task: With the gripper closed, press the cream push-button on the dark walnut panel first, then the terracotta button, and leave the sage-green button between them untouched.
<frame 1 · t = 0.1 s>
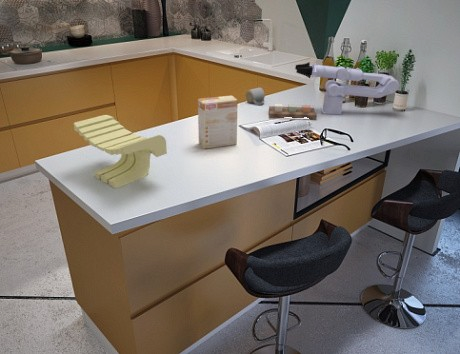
hand: (296, 68, 215), 22 cm above the countertop, tool horizontal, fingers open, 7 cm apart
cream button: (278, 108, 217), point 3 cm above the countertop, slide at 0.0 cm
terracotta button: (306, 109, 216), point 3 cm above the countertop, slide at 0.0 cm
coffeecake box: (217, 144, 182), on the countertop
button panel: (291, 115, 218), on the countertop
ceramic mug: (256, 103, 237), on the countertop
slatted lounge chair: (123, 175, 155), on the countertop
sage button: (292, 108, 217), point 3 cm above the countertop, slide at 0.0 cm
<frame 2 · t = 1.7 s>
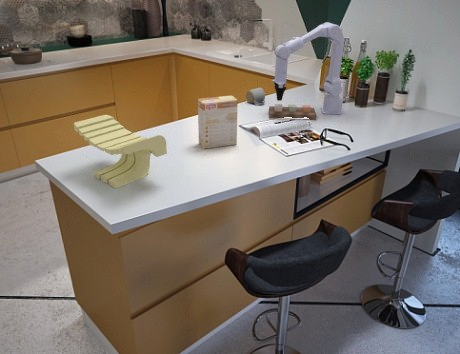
hand: (279, 98, 215), 8 cm above the countertop, tool pointing down, fingers open, 6 cm apart
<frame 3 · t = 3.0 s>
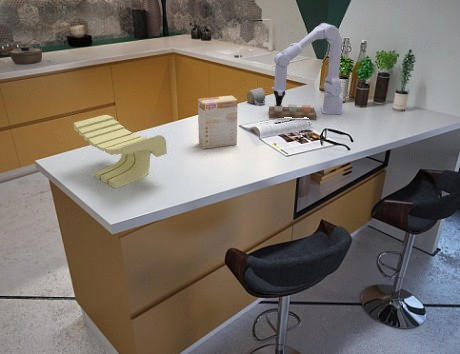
hand: (278, 105, 216), 5 cm above the countertop, tool pointing down, fingers closed, pressing on cream button
cream button: (278, 108, 217), point 3 cm above the countertop, slide at 0.3 cm, touching gripper
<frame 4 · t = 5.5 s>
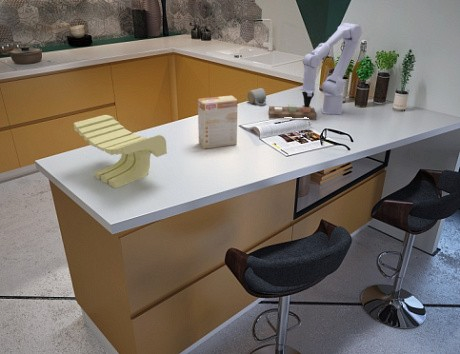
hand: (306, 106, 216), 5 cm above the countertop, tool pointing down, fingers closed, pressing on terracotta button
cream button: (278, 111, 218), point 2 cm above the countertop, slide at 1.5 cm
terracotta button: (306, 109, 216), point 3 cm above the countertop, slide at 0.2 cm, touching gripper
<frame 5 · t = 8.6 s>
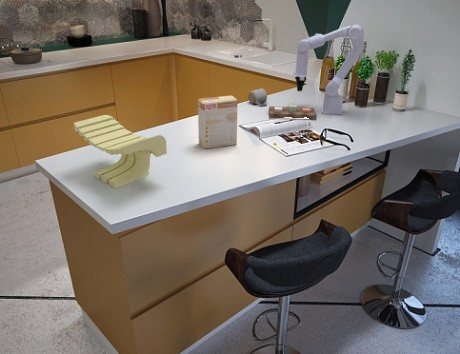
hand: (299, 90, 224), 9 cm above the countertop, tool pointing down, fingers closed
terracotta button: (306, 112, 217), point 2 cm above the countertop, slide at 1.5 cm
at the end: cream button slide at 1.5 cm; terracotta button slide at 1.5 cm; sage button slide at 0.0 cm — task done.
